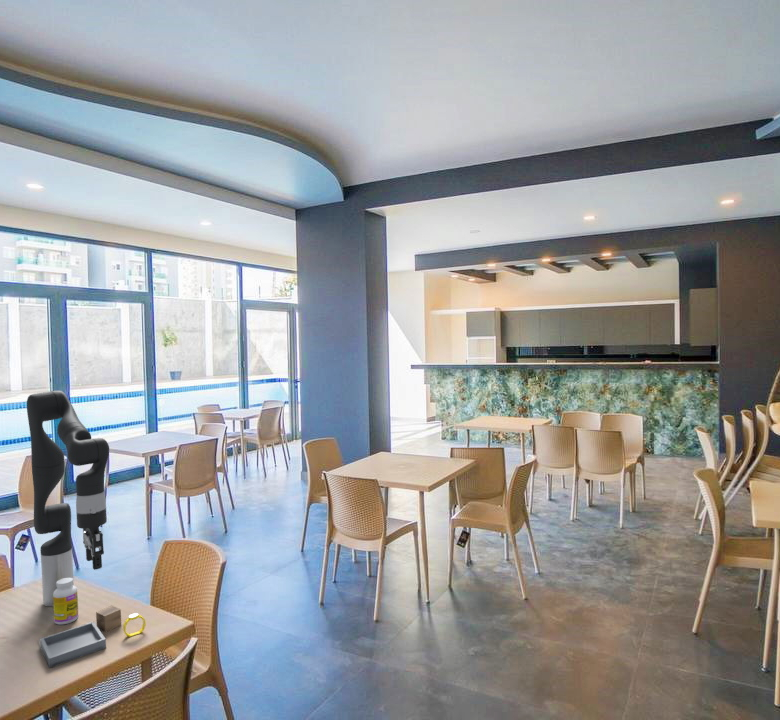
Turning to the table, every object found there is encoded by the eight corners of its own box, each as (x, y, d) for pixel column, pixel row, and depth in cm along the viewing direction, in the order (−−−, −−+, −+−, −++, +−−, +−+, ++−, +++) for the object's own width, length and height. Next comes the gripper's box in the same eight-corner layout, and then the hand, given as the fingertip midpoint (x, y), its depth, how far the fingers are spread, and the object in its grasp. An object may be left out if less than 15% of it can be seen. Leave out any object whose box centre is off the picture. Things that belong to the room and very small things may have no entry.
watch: (125, 640, 161) (123, 621, 161) (123, 636, 163) (121, 617, 163) (147, 632, 165) (144, 613, 164) (144, 628, 167) (142, 609, 166)
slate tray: (40, 647, 158) (40, 638, 158) (94, 629, 167) (93, 621, 167) (49, 668, 148) (49, 658, 147) (106, 647, 157) (105, 639, 157)
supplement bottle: (67, 626, 170) (65, 585, 170) (49, 624, 171) (47, 584, 171) (83, 615, 176) (81, 576, 176) (65, 614, 178) (63, 575, 177)
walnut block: (96, 628, 168) (96, 612, 168) (112, 620, 173) (111, 605, 172) (105, 632, 166) (104, 616, 166) (121, 625, 170) (120, 609, 170)
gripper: (71, 506, 160) (74, 561, 160) (81, 517, 149) (84, 575, 149) (100, 501, 164) (102, 554, 165) (111, 510, 153) (114, 567, 154)
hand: (94, 564), depth 157 cm, fingers open, 8 cm apart
